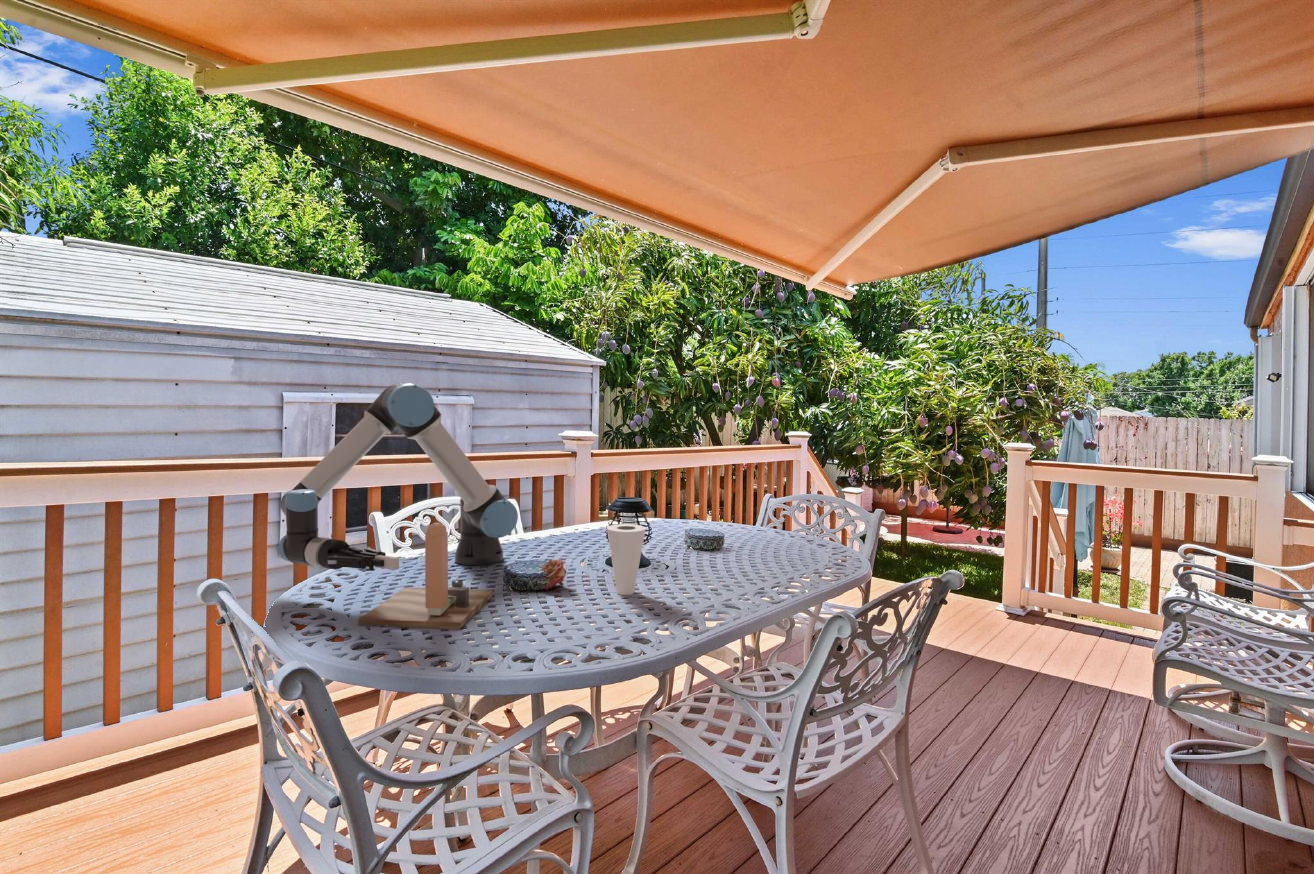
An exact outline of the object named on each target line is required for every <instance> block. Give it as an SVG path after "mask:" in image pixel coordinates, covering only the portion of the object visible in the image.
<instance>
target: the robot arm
mask: <svg viewBox="0 0 1314 874" xmlns="http://www.w3.org/2000/svg"><path fill="white" fill-rule="evenodd" d="M434 402H435V401H434V398H433V396H432V395H431V393H430V392H429V391H428V390H427V389H425V388H424V387H423V386H421V385H419V384H416V383H410V382H405V383H395V384H392V385H389V386H388V387H386V388H385V389H383V391H382V392H381V393H380V394H379V395H378V396H377V398H375V400H374V401H373V402H372V403H371V404H370V405H369V406H368V408H367V409H366V410H364V416H363V418H361V420H360V421H358V423H357V424H356V425H355V426H354V427H353V428H352V429H351V430H350V431H349V432H348V433H347V434H346V435H345V436H344V437H343V438H342V439H341V440H340V441H339V442H338V443H337V444H336V445H335V446H334V447H333V448H332V449H331V450H330V451H329V452H328V453H326V455H325V456H324V457H323V458H322V459H321V460H320V461H319V462H318V463H317V464H316V465H315V466H313V468H312V469H311V470H309V472H308V473H307V474H306V475H305V476H304V477H303V478H302V479H301V480H300V481H299V482H298V484H297V485H295V486H294V487H293V489H291V490H289V491H287V492H285V493H284V494H283V496H282V497H281V500H280V509H281V512H282V513H283V514H284V516H285V523H286V525H285V526H286V532H285V533H286V534H285V535H284V536H283V537H281V538H280V540H279V542H278V543H279V544H278V545H277V552H278V555H279V556H280V558H281V559H283V560H284V561H285V562H290V563H293V564H297V565H306V566H312V567H318V568H319V569H320V570H321V569H329V570H341V569H343V568H348V569H360V570H361V569H362V570H364V569H366V568H368V571H374V569H375V568H380V569H386V570H391V571H396V570H399V569H400V557H394V556H389V555H386V552H385V551H381V550H377V549H374V548H371V546H366V547H364V548H363V549H360V548H356V547H355V546H350V545H349V544H348V542H346V541H345V540H341V539H334V538H330V537H323V536H322V537H321V536H319V513H318V512H319V509H318V507H319V506H318V505H319V504H320V501H322V500H323V498H325V496H327V494H329V492H331V490H332V489H333V488H334V487H335V486H336V485H338V483H339V482H340V481H341V480H342V479H343V478H344V477H345V476H346V475H348V474H347V473H349V472H350V471H351V470H352V468H354V467H355V466H356V464H358V463H359V462H360V461H361V459H363V458H364V457H365V455H367V453H368V452H369V451H370V450H371V449H372V448H373V447H374V446H375V445H376V444H377V443H378V442H379V441H380V440H381V439H382V438H383V437H384V436H386V435H390V434H392V433H393V432H394V431H395V430H396V429H397V428H398V429H399V430H400V431H401V433H403V436H405V438H406V439H409V440H415V441H416V443H417V444H418V445H419V446H420V448H421V449H422V451H423V452H424V453H425V454H426V456H428V458H429V459H430V460H431V462H432V463H433V464H434V466H435V468H436V469H438V470H439V472H440V474H442V476H443V477H444V478H445V479H446V481H447V482H448V483H449V484H450V486H451V487H452V489H454V491H455V492H456V494H457V495H458V496H459V497H460V499H459V504H460V506H459V507H460V516H459V517H460V538H459V541H458V543H457V546H456V550H455V553H454V562H455V563H456V564H459V565H464V566H484V565H485V566H486V565H492V564H497V563H499V562H501V561H503V560H504V551H503V548H502V545H501V542H500V539H501V538H504V537H507V536H508V535H509V534H511V533H512V531H514V529H515V528H516V526H517V524H518V518H519V514H518V509H517V507H516V506H515V505H514V504H513V502H511V501H509V500H507V499H506V498H505V497H504V495H503V494H502V493H501V491H500V490H499V489H498V487H497V486H496V485H493V484H488V482H486V480H485V478H484V477H483V476H482V475H481V473H480V472H479V471H478V470H477V468H476V467H475V466H474V463H472V462H471V460H470V459H469V457H467V455H466V453H465V452H464V451H463V449H462V448H461V447H460V446H459V444H458V443H457V442H456V441H455V439H454V438H453V437H452V435H451V434H450V433H449V432H448V430H447V429H446V427H445V426H444V425H443V423H442V422H441V421H442V413H441V411H440V410H439V409H438V408H437V407H436V405H435V403H434ZM499 538H500V539H499Z"/></svg>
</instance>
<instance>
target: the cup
mask: <svg viewBox="0 0 1314 874" xmlns="http://www.w3.org/2000/svg"><path fill="white" fill-rule="evenodd" d="M646 528H647V527H645V526H643V525H640V524H633V523H632V524H631V523H628V524H627V523H621V524H612V525H608V526H607V527H606V530H607V537H608V538H607V539H608V545H609V548H610V555H611V563H612V564H611V565H612V570H613V576H614V577H613V578H614V583H615V589H616V594H618V595H621V596H630V595H634V594H635V592H636V591H635V588H636V584H637V579H638V571H639V569H640V568H639V566H640V562H641V557H642V552H643V551H642V550H643V546H644V540H645V536H646V530H647V529H646Z"/></svg>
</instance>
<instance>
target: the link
mask: <svg viewBox="0 0 1314 874" xmlns="http://www.w3.org/2000/svg"><path fill="white" fill-rule="evenodd" d="M425 533H426V534H425V536H424V540H425V541H424V542H425V543H424V549H425V550H424V552H425V553H424V554H425V555H424V558H425V560H424V562H425V564H424V567H425V569H424V570H425V571H424V573H425V576H424V577H425V579H424V580H425V587H424V588H425V599H426V608H428V615H441V614H442V613H443V612H444V611H445V610H446V609H447V608H448V607H449V606H450V605H451V604H452V603H453V602H454V601H455V600H456V596H448V587H452V584H451V585H449V582H448V581H449V578H448V576H449V571H448V570H449V561H448V560H449V559H448V557H449V555H448V554H449V553H448V552H449V551H448V550H449V549H448V544H449V543H448V540H449V537H448V534H449V533H448V531H447V528H446V526H445V525H444V524H443V523H441V522H434V523H431V524H429V525H428V527H427V528H426V531H425ZM461 587H464V588H467V585H466V584H463V586H461Z"/></svg>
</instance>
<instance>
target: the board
mask: <svg viewBox="0 0 1314 874" xmlns="http://www.w3.org/2000/svg"><path fill="white" fill-rule="evenodd" d="M493 596H494V590H493V589H472V588H469V605H468V606H467V607H466V608H463V607H456V600H455V601H454V602H453V603H452V604H451V605H450V606H449V607H448V608H447V609H446V610H445V611H444V612H443V613H442V614H441V615H428V608H426V599H425V587H412V586H411V587H408V586H405V587H403V588H402V589H401V590H399V591H397V592H396V593H395V594H393V595H392V596H390V597H388V599H386V600H384V601H383V602H382V603H380V604H378V605H377V606H376V607H374V608H372V609H371V610H369V611H368V612H366V613H365V614H363V616H361V617H359V618H358V626H363V625H385V626H384V627H391V626H397V628H418V627H420V628H424V629H452V630H461V629H462V628H463V626H465V625H466V623H467V622H468V621H469V620H470V619H471V618H473V616H474V615H476V613H478V612H479V610H481V608H482V607H483V606H484V605H485V604H486V603H487V602H488V601H489V600H490V599H491V598H492V597H493ZM386 625H388V626H386Z"/></svg>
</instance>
